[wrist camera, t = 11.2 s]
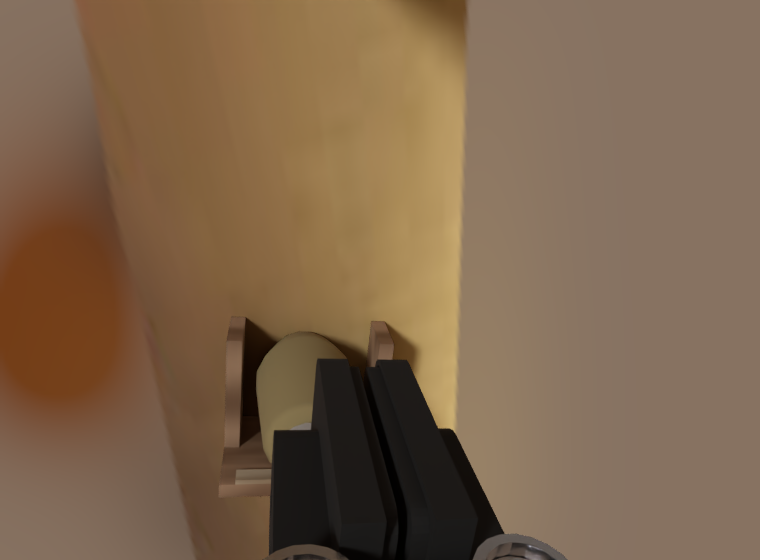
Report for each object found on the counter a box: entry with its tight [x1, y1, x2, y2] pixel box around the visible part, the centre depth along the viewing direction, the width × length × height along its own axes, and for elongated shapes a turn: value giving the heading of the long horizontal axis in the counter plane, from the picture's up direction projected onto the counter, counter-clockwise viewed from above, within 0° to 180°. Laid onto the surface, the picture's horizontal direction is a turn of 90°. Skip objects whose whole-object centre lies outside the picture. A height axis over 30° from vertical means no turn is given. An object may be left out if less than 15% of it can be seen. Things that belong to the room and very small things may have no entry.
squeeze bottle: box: [256, 332, 350, 464], centre depth 41 cm, size 8×8×18 cm
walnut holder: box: [219, 317, 394, 498], centre depth 45 cm, size 11×13×9 cm
